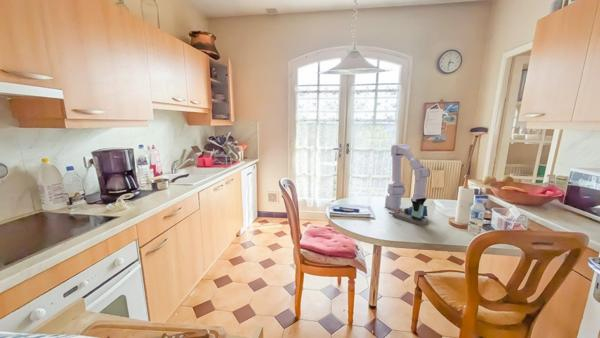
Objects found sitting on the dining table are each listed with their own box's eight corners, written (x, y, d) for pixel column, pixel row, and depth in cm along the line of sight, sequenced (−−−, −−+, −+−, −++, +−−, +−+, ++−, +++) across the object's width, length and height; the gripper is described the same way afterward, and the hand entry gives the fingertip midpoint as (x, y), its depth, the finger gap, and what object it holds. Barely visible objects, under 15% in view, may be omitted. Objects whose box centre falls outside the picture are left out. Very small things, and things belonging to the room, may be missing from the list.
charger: (411, 215, 144) (412, 204, 142) (414, 213, 146) (415, 202, 145) (419, 218, 140) (421, 206, 139) (422, 216, 143) (424, 205, 141)
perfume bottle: (427, 216, 147) (407, 215, 147) (422, 216, 153) (403, 215, 153) (426, 205, 148) (407, 205, 148) (421, 206, 154) (402, 206, 154)
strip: (386, 214, 155) (386, 210, 154) (391, 212, 159) (392, 207, 158) (422, 227, 138) (422, 221, 137) (427, 223, 143) (427, 218, 142)
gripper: (421, 192, 132) (419, 215, 135) (432, 187, 141) (429, 209, 144) (409, 189, 137) (406, 211, 140) (420, 184, 146) (417, 205, 149)
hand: (417, 210), depth 142 cm, fingers closed on charger, 4 cm apart
